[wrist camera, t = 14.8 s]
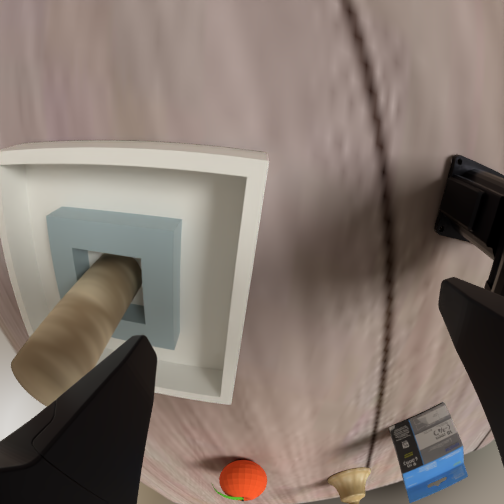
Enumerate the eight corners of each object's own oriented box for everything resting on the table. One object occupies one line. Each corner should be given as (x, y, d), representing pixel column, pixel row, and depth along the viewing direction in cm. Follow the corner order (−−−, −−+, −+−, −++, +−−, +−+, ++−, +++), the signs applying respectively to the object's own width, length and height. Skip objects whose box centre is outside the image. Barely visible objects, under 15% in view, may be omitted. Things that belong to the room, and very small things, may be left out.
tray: (267, 152, 18) (269, 161, 15) (234, 372, 27) (231, 404, 23) (23, 143, 18) (-9, 152, 14) (54, 333, 26) (37, 357, 23)
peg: (152, 278, 22) (86, 405, 11) (122, 302, 23) (58, 417, 12) (117, 239, 20) (21, 348, 10) (89, 267, 21) (4, 370, 11)
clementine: (214, 466, 38) (210, 503, 32) (214, 450, 35) (209, 492, 29) (263, 470, 38) (263, 506, 32) (270, 454, 35) (270, 496, 29)
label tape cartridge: (444, 400, 31) (474, 468, 20) (443, 411, 32) (469, 475, 21) (388, 426, 33) (408, 499, 21) (390, 436, 34) (409, 503, 23)
